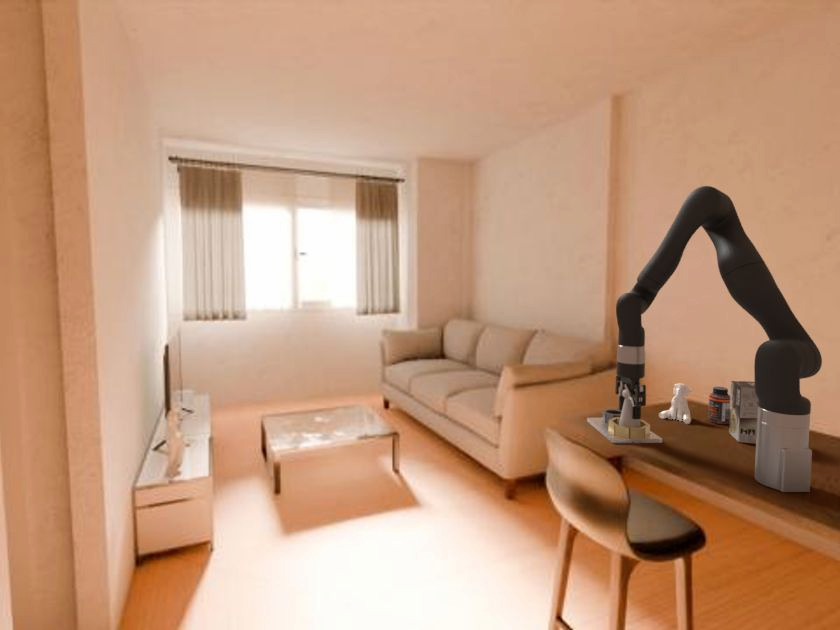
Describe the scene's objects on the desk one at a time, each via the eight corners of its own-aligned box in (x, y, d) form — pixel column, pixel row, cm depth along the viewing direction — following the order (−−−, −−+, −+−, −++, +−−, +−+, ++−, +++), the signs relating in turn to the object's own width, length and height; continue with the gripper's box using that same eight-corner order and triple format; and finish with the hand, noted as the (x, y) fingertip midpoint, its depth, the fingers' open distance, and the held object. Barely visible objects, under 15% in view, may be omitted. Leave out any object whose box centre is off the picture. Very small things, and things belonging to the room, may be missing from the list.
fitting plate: (662, 442, 130) (662, 428, 130) (612, 443, 130) (613, 428, 130) (629, 420, 150) (630, 408, 149) (587, 421, 150) (587, 408, 149)
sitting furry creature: (657, 418, 152) (659, 383, 151) (667, 413, 158) (668, 379, 157) (689, 424, 145) (690, 387, 144) (698, 419, 151) (699, 383, 150)
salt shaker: (642, 436, 132) (643, 392, 130) (621, 435, 133) (622, 391, 132) (637, 429, 137) (638, 387, 136) (616, 428, 139) (618, 386, 137)
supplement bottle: (703, 420, 150) (704, 386, 149) (717, 418, 152) (718, 385, 151) (720, 425, 144) (721, 390, 143) (734, 423, 146) (736, 389, 145)
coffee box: (764, 445, 128) (767, 388, 126) (737, 442, 130) (740, 386, 128) (752, 434, 136) (755, 381, 135) (727, 432, 138) (730, 379, 137)
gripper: (656, 365, 126) (654, 422, 128) (632, 356, 141) (630, 407, 142) (629, 365, 126) (627, 422, 128) (607, 356, 141) (606, 408, 142)
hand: (629, 414), depth 135 cm, fingers open, 8 cm apart
